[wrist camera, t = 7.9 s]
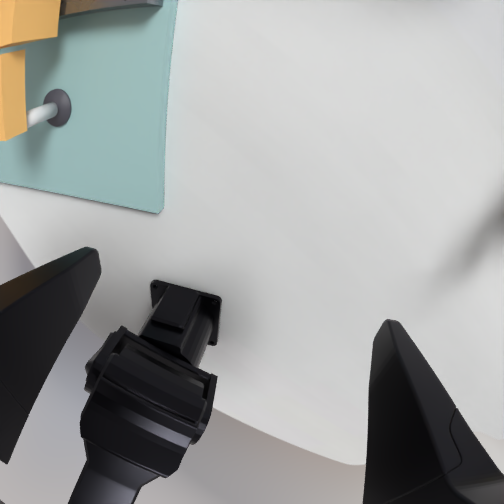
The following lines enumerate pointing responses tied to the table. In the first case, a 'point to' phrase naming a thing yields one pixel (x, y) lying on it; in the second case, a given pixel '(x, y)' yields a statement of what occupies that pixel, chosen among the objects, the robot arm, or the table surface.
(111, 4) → the rail
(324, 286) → the table surface
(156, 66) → the board
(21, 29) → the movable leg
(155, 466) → the robot arm
